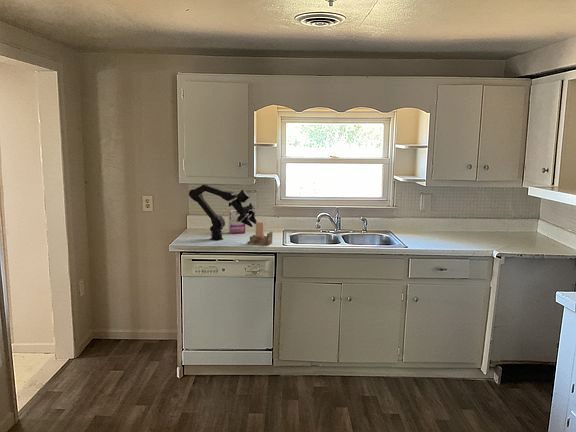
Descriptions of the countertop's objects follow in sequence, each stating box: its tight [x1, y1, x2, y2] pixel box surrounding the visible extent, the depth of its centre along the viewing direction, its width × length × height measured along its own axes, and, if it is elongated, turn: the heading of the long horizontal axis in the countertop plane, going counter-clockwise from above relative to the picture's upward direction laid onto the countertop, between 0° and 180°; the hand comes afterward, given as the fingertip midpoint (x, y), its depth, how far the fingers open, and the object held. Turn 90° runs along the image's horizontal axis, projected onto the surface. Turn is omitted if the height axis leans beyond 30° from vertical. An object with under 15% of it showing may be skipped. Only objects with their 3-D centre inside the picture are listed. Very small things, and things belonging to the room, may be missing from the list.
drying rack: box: [247, 231, 273, 246], centre depth 308 cm, size 14×8×8 cm, turn 73°
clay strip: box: [255, 220, 265, 237], centre depth 307 cm, size 5×2×13 cm, turn 72°
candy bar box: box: [228, 209, 246, 235], centre depth 340 cm, size 11×5×16 cm, turn 112°
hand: (254, 225), depth 308 cm, fingers open, 9 cm apart
